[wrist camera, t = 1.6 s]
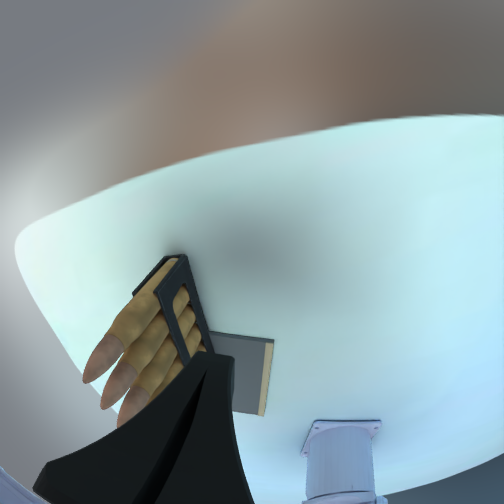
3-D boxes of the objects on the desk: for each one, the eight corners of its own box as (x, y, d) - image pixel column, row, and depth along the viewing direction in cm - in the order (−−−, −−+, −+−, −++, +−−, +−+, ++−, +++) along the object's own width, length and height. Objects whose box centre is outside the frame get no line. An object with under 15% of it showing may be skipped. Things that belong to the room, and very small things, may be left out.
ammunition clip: (163, 256, 21) (60, 363, 10) (186, 253, 20) (88, 368, 9) (199, 366, 24) (152, 479, 13) (219, 366, 24) (178, 485, 13)
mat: (264, 412, 27) (263, 416, 27) (149, 390, 29) (148, 393, 28) (273, 339, 23) (273, 344, 22) (127, 315, 24) (125, 318, 24)
